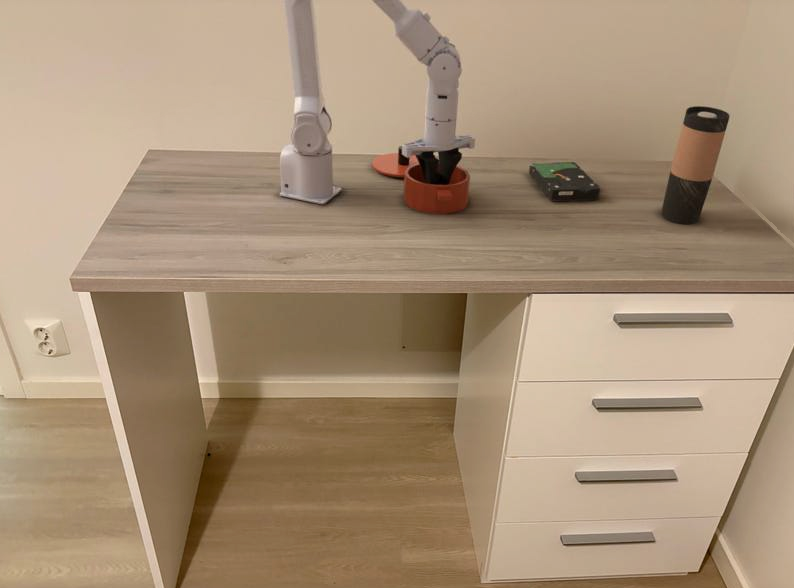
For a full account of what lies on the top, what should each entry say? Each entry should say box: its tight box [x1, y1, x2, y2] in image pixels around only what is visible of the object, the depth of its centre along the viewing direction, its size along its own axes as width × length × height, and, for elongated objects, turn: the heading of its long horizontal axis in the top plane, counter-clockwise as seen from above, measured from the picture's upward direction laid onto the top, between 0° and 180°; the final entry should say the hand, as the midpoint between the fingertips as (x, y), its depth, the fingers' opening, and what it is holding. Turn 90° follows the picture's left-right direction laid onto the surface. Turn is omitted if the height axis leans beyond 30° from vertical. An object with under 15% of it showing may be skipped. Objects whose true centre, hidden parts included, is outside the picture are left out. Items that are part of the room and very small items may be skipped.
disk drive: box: [528, 161, 602, 202], centre depth 148 cm, size 10×3×15 cm
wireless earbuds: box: [435, 172, 445, 185], centre depth 138 cm, size 7×2×5 cm, turn 30°
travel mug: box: [660, 105, 730, 225], centre depth 134 cm, size 8×8×20 cm
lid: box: [371, 145, 419, 178], centre depth 152 cm, size 13×13×4 cm
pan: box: [403, 163, 471, 215], centre depth 138 cm, size 12×18×6 cm
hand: (436, 188), depth 138 cm, fingers closed on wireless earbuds, 2 cm apart
